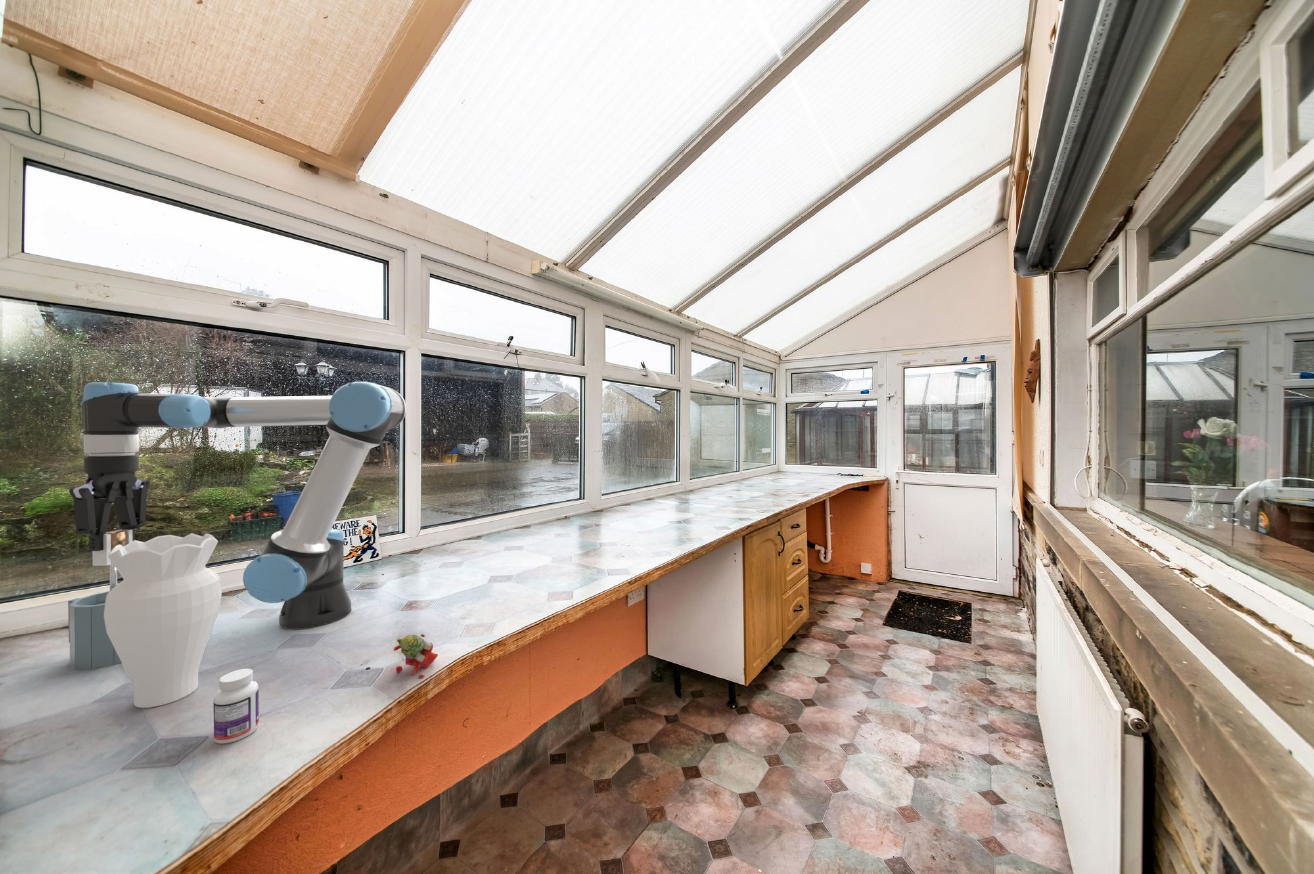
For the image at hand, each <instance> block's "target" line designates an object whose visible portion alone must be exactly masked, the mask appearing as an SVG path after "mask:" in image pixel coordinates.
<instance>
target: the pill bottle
mask: <svg viewBox="0 0 1314 874" xmlns="http://www.w3.org/2000/svg"><path fill="white" fill-rule="evenodd" d="M253 673H254V672H253V669H252V668H241V669H236V670H233V671H231V672H228V673H226V674H224V675H222V676H221V677H220V678H219V681H218V685H219V687H218V688H219V690H218V691H217V692H216V693H215V694H214V697H213V701H212V702H213V740H214V742H215V743H217V744H220V745H221V744H230V743H234V742H237V741H240V740H242V739H245V738H247V737H248V736H251V734H253V733H254V732H255V731H256V730H257V729H258V727H259V724H260V716H259V715H260V714H259V713H260V711H259V710H260V709H259V692H260V691H259V690H260V689H259V683H257V682H256V681H254V680H253V679H254V674H253Z"/></svg>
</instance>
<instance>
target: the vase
mask: <svg viewBox="0 0 1314 874" xmlns="http://www.w3.org/2000/svg"><path fill="white" fill-rule="evenodd" d="M218 543H219V540H217V538H216V537H215V536H214V535H212V534H210V533H205V534H204V535H203V536H202V535H198V534H196V533H190V534H188V535H185V536H183V537H182V536H177V535H173V534H166V535H159V536H155V537H153V538H151V539H149V540H147V541H139V540H136V539H135V540H134V541H133V542H131V543H129V544H127V545H125V546H122V545H117V546H115V547H114V548H113V549H112V551H111V552H110V554H109V555H108V557H109V559H110V560H111V562H112V563H113V564H114V566H115V567H116V569H117V573H119V574H120V576H121V577H122V579H123V580H122V581H119V583H117V585H116V586H115V587H114V588H113V589H112V590H111V591H110V590H109V591H110V592H109V593H108V594H107V595H106V602H105V609H104V620H105V626H106V632H107V634H108V636H109V638H110V640H111V642H112V644H113V646H114V648H115V650H116V652H117V654H118V656H119V658H120V660H121V662H122V663H121V664H122V666H123V668H124V670H125V672H126V674H127V675H128V678H129V679H130V682H131V683H132V687H133V706H135V707H136V708H140V709H149V708H155V707H161V706H164V705H167V704H171V703H174V702H177V701H179V700H182V699H183V698H185V697H187V696H189V695H190V694H192V693H193V692H194V691H196V689H198V687H199V668H200V664H201V662H202V659H203V656H204V653H205V650H206V648H207V645H208V641H209V639H210V636H211V634H212V631H213V628H214V624H215V622H216V619H217V616H218V614H219V612H220V608H221V601H222V594H223V591H222V584H221V577H220V576H219V575H218V574H217V573H216V572H215V571H214V570H212V569H210V568H208V567H206V565H207V564H208V562H209V560H210V558H211V557H212V554H213V552H214V551H215V549H216V547H217V544H218Z"/></svg>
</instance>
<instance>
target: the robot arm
mask: <svg viewBox="0 0 1314 874" xmlns="http://www.w3.org/2000/svg"><path fill="white" fill-rule="evenodd" d="M81 404H82V414H83V415H82V416H83V427H84V429H83V453H85V454H88V455H86V456H85V457H83V472H84V473H85V474H87V479H86V481H85V484H83V485H81V486H79V487H71V488H70V489H69V490H68V492H69V494H70V495H71V498H72V499H73V507H74V508H73V509H74V521H75V532H76V534H77V535H81V536H82V535H83V536H84V537H85V536H87V537H88V538H89V551H90V552H92V566H93V567H95V566H97V567H100V566H103V567H105V566H110V565H111V560H110V559H109V557H108V555H109V554H110V552H111V534H106V532H107V530H108V523H109V518H110V514H111V509H112V504H113V505H114V508H115V513H116V517H117V522H118V527H119V529H117V530H114V531H126V545H127V544H129V543H131V542H133V541H134V540H136V537H135V535H136V533H135V532H136V531H135V530H139V529H140V528H141V526H142V525H143V524H144V525H145V524H146V522H147V521H146V518H147V501H148V500H147V499H148V490H149V487H150V485H151V482H150V481H149V480H141V479H138V476H137V475H136V472H138V471H139V470H140V456H138V454H136V453H138V452H140V440H139V437H140V435H139V433H140V432H139V430H140V428H161V429H163V428H167V429H169V428H171V429H172V428H173V429H175V428H176V429H194V428H196V429H198V428H209V429H211V428H212V429H226V428H239V427H240V428H241V427H244V428H245V427H246V428H247V427H277V426H278V427H279V426H285V427H286V426H319V425H322V426H323V425H326V426H325V428H326V430H327V433H328V434H329V437H328V439H327V441H326V443H325V446H324V447H323V449H322V451H321V454H320V455H319V458H317V462H316V463H315V465H314V467H313V469H312V471H311V473H310V475H309V478H307V481H306V484H305V486H303V487H304V488H303V490H302V492H301V493H300V496H299V498H298V499H297V501H296V503H295V506H294V508H293V509H292V511H291V513H290V515H289V517H288V520H287V522H286V524H285V526H284V527H283V529H280V530H279V531H278V530H277V531H276V532H274V533H273V534H272V535H271V536H270V537H269V540H268V542H267V543H266V546H265V548H264V550H263V552H262V554H261V555H259V556H257V557H255V558H254V559H253V560H251V561H250V562H249V564H247V566H246V567H245V569H244V571H243V575H242V582H243V586H244V589H246V590H247V593H248V594H249V595H250V596H251V597H252V598H254V599H256V600H257V601H260V602H263V603H267V604H279V603H283V605H282V607H281V609H280V613H279V614H278V615H279V616H278V626H279V627H281V628H284V629H291V630H292V629H294V630H295V629H296V630H298V629H307V628H308V629H309V628H313V627H318V626H322V625H327V624H330V623H333V622H336V621H338V620H341V619H343V618H344V617H346V616H347V615H349V614H350V613H351V612H352V601H351V598H350V596H349V594H348V591H347V588H346V587H345V584H344V557H345V555H344V550H345V549H344V548H345V547H344V546H345V545H344V543H345V540H344V534H343V531H342V530H341V529H336V528H333V526H334V524H335V522H336V520H337V518H338V516H339V514H340V511H341V509H342V507H343V505H344V503H345V502H346V499H347V497H348V495H349V493H350V491H351V489H352V486H354V483H355V481H356V479H357V476H358V474H359V472H360V470H361V469H362V466H363V464H364V462H365V461H366V458H367V456H368V455H369V453H370V450H371V449H373V448H375V447H378V446H380V445H381V444H382V442H383V440H384V437H385V435H386V434H387V432H388V430H392V429H394V428H396V427H397V426H399V425H400V424H401V423H402V422H403V420H404V419H405V417H406V414H407V404H406V401H405V399H404V397H403V396H402V394H400V393H399V392H398V391H397V390H395V389H393V388H391V387H388V386H385V385H380V384H378V383H374V382H371V381H352V382H349V383H346V384H344V385H342V386H340V387H338V388H337V389H336V390H335V392H334V393H333V394H332V395H303V396H301V395H299V396H296V395H295V396H243V397H242V396H238V397H237V396H236V397H235V396H233V397H229V396H224V397H222V396H221V397H219V396H218V397H215V396H214V397H210V396H200V395H198V394H190V393H189V394H188V393H180V392H179V393H144V392H143V393H142V392H140V391H139V387H138V386H137V385H135V384H133V383H132V384H131V383H125V382H123V383H121V382H106V381H105V382H103V381H101V382H100V381H96V382H95V381H94V382H89V383H86V384H85V385H84V387H83V396H82V400H81Z"/></svg>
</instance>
